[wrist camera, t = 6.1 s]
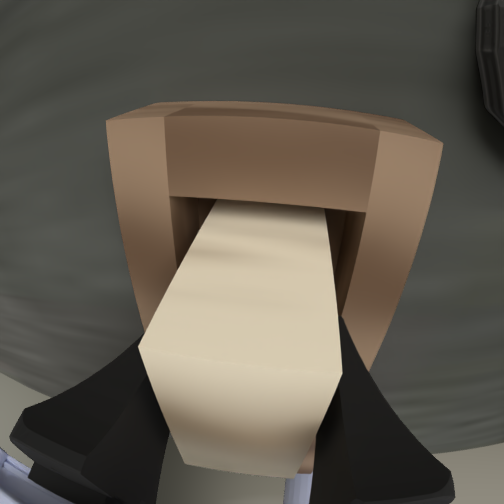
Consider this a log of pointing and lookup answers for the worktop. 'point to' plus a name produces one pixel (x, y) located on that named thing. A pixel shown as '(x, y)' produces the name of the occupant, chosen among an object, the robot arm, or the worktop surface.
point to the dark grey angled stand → (491, 55)
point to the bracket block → (248, 339)
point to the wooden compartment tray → (276, 193)
